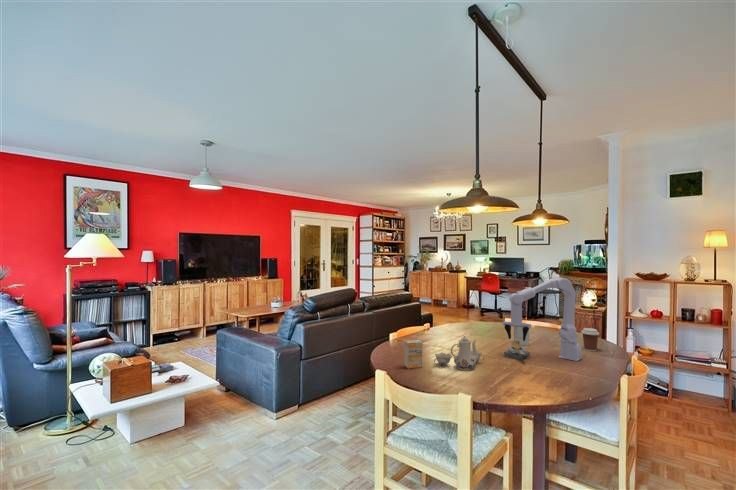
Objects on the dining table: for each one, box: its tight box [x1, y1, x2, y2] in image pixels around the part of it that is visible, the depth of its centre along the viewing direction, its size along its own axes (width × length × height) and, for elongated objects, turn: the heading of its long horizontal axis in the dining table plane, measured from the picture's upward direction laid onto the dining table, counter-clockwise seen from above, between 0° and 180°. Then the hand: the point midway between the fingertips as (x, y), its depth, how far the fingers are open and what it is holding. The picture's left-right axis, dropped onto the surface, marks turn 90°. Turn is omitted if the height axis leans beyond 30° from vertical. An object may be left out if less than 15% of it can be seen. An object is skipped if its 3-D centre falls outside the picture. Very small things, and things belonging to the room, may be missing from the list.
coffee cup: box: [580, 327, 600, 352], centre depth 212 cm, size 9×9×12 cm
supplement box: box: [404, 339, 423, 370], centre depth 184 cm, size 8×5×13 cm, turn 105°
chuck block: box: [503, 350, 531, 361], centre depth 200 cm, size 10×10×2 cm
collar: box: [507, 345, 527, 360], centre depth 195 cm, size 17×7×2 cm, turn 173°
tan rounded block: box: [513, 339, 521, 350], centre depth 200 cm, size 3×5×9 cm, turn 142°
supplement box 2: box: [512, 326, 530, 347], centre depth 225 cm, size 7×7×13 cm
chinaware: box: [433, 335, 485, 371], centre depth 185 cm, size 28×17×17 cm, turn 111°
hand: (516, 339), depth 200 cm, fingers open, 7 cm apart
